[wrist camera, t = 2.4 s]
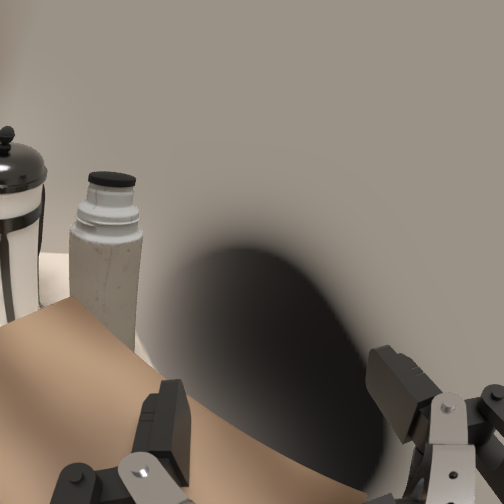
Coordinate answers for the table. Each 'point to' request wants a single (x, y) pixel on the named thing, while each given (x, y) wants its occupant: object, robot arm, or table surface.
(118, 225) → the thermos bottle
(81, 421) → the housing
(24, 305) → the coffee press
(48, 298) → the table surface
